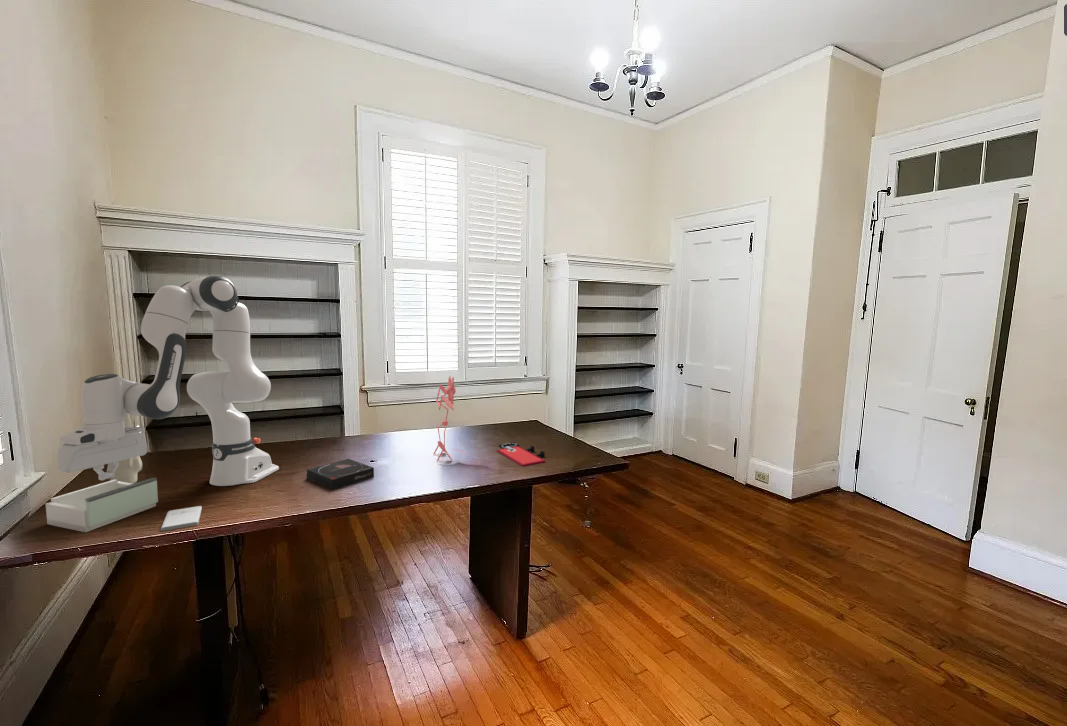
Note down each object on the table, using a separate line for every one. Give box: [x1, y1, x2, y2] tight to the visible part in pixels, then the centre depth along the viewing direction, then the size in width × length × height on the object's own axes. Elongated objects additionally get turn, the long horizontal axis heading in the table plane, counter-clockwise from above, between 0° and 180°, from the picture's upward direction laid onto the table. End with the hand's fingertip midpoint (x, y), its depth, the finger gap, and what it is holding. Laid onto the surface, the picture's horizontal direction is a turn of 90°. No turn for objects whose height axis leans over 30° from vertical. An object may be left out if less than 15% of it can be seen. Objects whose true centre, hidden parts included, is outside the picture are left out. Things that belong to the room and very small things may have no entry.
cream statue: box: [106, 414, 143, 484], centre depth 156 cm, size 9×8×30 cm
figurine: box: [433, 375, 469, 466], centre depth 195 cm, size 15×26×35 cm, turn 22°
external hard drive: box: [160, 505, 203, 532], centre depth 132 cm, size 2×8×12 cm
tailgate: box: [86, 476, 159, 526], centre depth 131 cm, size 17×1×8 cm, turn 165°
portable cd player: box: [306, 458, 375, 491], centre depth 168 cm, size 16×17×4 cm
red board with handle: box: [496, 441, 546, 467], centre depth 203 cm, size 30×3×15 cm
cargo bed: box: [45, 480, 157, 533], centre depth 133 cm, size 18×15×7 cm
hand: (106, 478), depth 131 cm, fingers closed
